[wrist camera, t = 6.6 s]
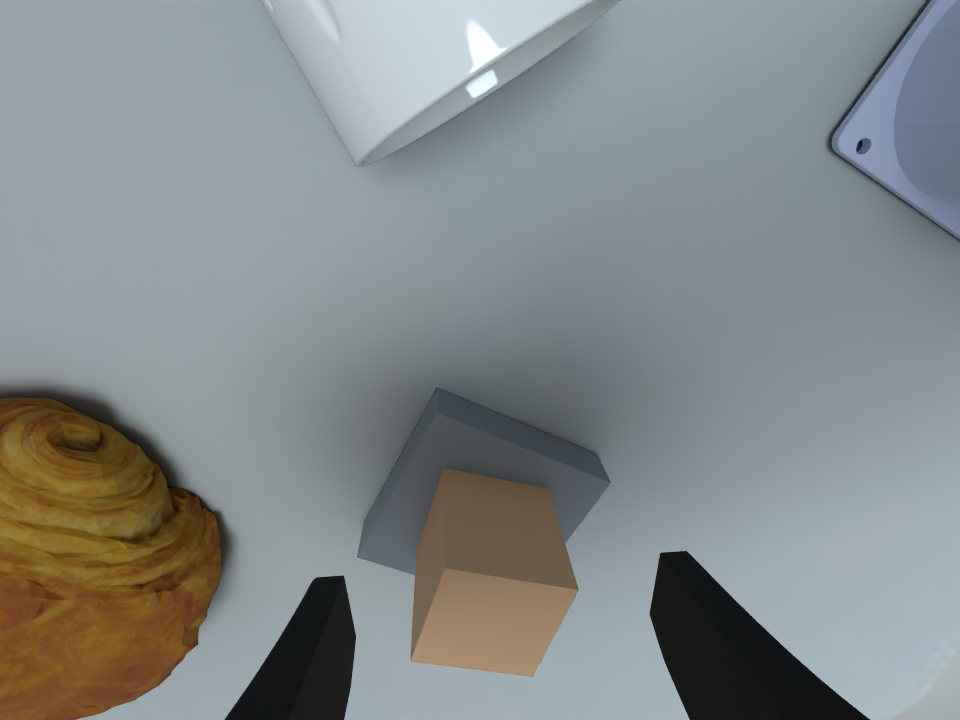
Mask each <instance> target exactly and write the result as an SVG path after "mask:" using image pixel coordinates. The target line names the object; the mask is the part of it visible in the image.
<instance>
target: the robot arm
mask: <svg viewBox="0 0 960 720" xmlns="http://www.w3.org/2000/svg"><path fill="white" fill-rule="evenodd" d="M860 140H862V147H861V149H860V150H859V151H858V152H856V146H857V144H858V142H859V141H860ZM832 148H833V150H834V151H835V152H836V153H837V154H839V155H840V156H842V157H843V158H844V159H846V160H847V161H849V162H850V163H852V164H853V165H854V166H856V167H857V168H859V169H860V170H861V171H863V172H864V173H866V174H867V175H869V176H870V177H871V178H873V179H874V180H876V181H877V182H879V183H880V184H881V185H883V186H884V187H886V188H887V189H889V190H890V191H891V192H893V193H894V194H896V195H897V196H898V197H900V198H901V199H903V200H904V201H906V202H907V203H908V204H910V205H911V206H913V207H914V208H916V209H917V210H918V211H920V212H921V213H923V214H924V215H926V216H927V217H928V218H930V219H931V220H933V221H934V222H935V223H937V224H938V225H940V226H941V227H943V228H944V229H945V230H947V231H948V232H950V233H951V234H953V235H954V236H955V237H957V238H958V239H960V0H931V1H930V2H929V4H928V5H927V6H926V8H925V9H924V11H923V12H922V13H921V15H920V16H919V17H918V19H917V20H916V22H915V23H914V24H913V26H912V27H911V28H910V30H909V31H908V33H907V34H906V35H905V37H904V38H903V39H902V41H901V42H900V44H899V45H898V46H897V48H896V49H895V51H894V52H893V53H892V55H891V56H890V57H889V59H888V60H887V62H886V63H885V64H884V66H883V67H882V68H881V70H880V71H879V73H878V74H877V75H876V77H875V78H874V79H873V81H872V82H871V84H870V85H869V86H868V88H867V89H866V90H865V92H864V93H863V95H862V96H861V97H860V99H859V100H858V101H857V103H856V104H855V106H854V107H853V108H852V110H851V111H850V112H849V114H848V115H847V117H846V118H845V119H844V121H843V122H842V123H841V125H840V126H839V128H838V129H837V130H836V132H835V134H834V136H833V138H832ZM650 617H651V620H652V623H653V627H654V630H655V633H656V637H657V640H658V643H659V646H660V649H661V652H662V655H663V658H664V661H665V664H666V666H667V668H668V671H669V673H670V675H671V678H672V680H673V682H674V685H675V687H676V689H677V692H678V694H679V696H680V698H681V701H682V703H683V705H684V708H685V710H686V712H687V714H688V717H689V719H690V720H870V719H868V718H867V717H866V716H865V715H863V714H862V713H861V712H860V711H858V710H857V709H856V708H854V707H853V706H852V705H851V704H849V703H848V702H847V701H846V700H844V699H843V698H842V697H841V696H839V695H838V694H837V693H836V692H835V691H833V690H832V689H831V688H830V687H829V686H828V685H826V684H825V683H824V682H823V681H822V680H820V679H819V678H818V677H817V676H816V675H815V674H814V673H812V672H811V671H810V670H809V669H808V668H807V667H806V666H805V665H803V664H802V663H801V662H800V661H799V660H798V659H797V658H795V657H794V656H793V655H792V654H791V653H790V652H789V651H788V650H787V649H786V648H784V647H783V646H782V645H781V644H780V643H779V642H778V641H777V640H776V639H775V638H774V637H773V636H772V635H771V634H770V633H768V632H767V631H766V630H765V629H764V628H763V627H762V626H761V625H760V624H759V623H758V622H757V621H756V620H755V619H754V618H753V617H752V616H751V615H750V614H749V613H748V612H747V611H746V610H745V609H744V608H743V607H741V606H740V605H739V604H738V603H737V602H736V601H735V600H734V599H733V598H732V597H731V596H730V595H729V594H728V592H727V591H726V590H725V589H724V588H723V587H722V586H721V585H720V584H719V583H718V582H717V581H716V580H715V579H714V578H713V577H712V576H711V575H710V574H709V573H708V572H707V571H706V570H705V569H704V568H703V567H702V566H701V565H700V564H699V563H698V562H697V561H696V560H695V559H694V558H693V557H692V556H691V555H690V554H689V553H688V552H687V551H679V552H665V553H660V558H659V564H658V569H657V575H656V581H655V586H654V592H653V598H652V603H651V609H650ZM355 642H356V634H355V629H354V624H353V619H352V614H351V609H350V604H349V599H348V594H347V589H346V584H345V579H344V576H331V577H317V578H315V579H314V580H313V581H312V583H311V584H310V586H309V588H308V590H307V592H306V594H305V595H304V597H303V599H302V601H301V602H300V604H299V606H298V608H297V609H296V611H295V613H294V615H293V616H292V618H291V620H290V621H289V623H288V625H287V626H286V628H285V630H284V631H283V633H282V635H281V636H280V638H279V640H278V641H277V643H276V644H275V646H274V647H273V649H272V650H271V652H270V654H269V655H268V657H267V658H266V660H265V661H264V663H263V664H262V666H261V668H260V669H259V671H258V672H257V674H256V675H255V677H254V678H253V680H252V681H251V683H250V684H249V686H248V687H247V688H246V690H245V691H244V693H243V694H242V696H241V697H240V698H239V700H238V701H237V703H236V704H235V706H234V707H233V708H232V710H231V711H230V713H229V714H228V715H227V717H226V718H225V720H344V717H345V712H346V707H347V703H348V698H349V693H350V688H351V679H352V670H353V661H354V652H355Z"/></svg>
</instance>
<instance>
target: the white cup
mask: <svg viewBox="0 0 960 720" xmlns="http://www.w3.org/2000/svg"><path fill="white" fill-rule="evenodd" d="M259 1H260V3H261V5H262V6H263V8H264V10H265V12H266V13H267V15H268V17H269V18H270V20H271V22H272V24H273V25H274V27H275V29H276V30H277V32H278V34H279V35H280V37H281V39H282V41H283V42H284V44H285V46H286V47H287V49H288V51H289V53H290V54H291V56H292V58H293V59H294V61H295V63H296V65H297V66H298V68H299V70H300V71H301V73H302V75H303V77H304V78H305V80H306V82H307V83H308V85H309V87H310V89H311V90H312V92H313V94H314V95H315V97H316V99H317V101H318V102H319V104H320V106H321V108H322V109H323V111H324V113H325V114H326V116H327V118H328V120H329V121H330V123H331V125H332V127H333V128H334V130H335V132H336V134H337V135H338V137H339V139H340V141H341V142H342V144H343V146H344V148H345V149H346V151H347V153H348V155H349V156H350V158H351V160H352V162H353V163H354V165H355V166H356V167H363V166H367V165H369V164H372V163H374V162H376V161H378V160H380V159H382V158H384V157H386V156H388V155H390V154H392V153H394V152H396V151H397V150H399V149H401V148H403V147H405V146H406V145H408V144H410V143H412V142H413V141H415V140H417V139H418V138H420V137H422V136H424V135H425V134H427V133H429V132H430V131H432V130H434V129H435V128H437V127H438V126H440V125H442V124H443V123H445V122H447V121H448V120H450V119H451V118H453V117H455V116H456V115H458V114H459V113H461V112H463V111H464V110H466V109H467V108H469V107H471V106H472V105H474V104H475V103H477V102H478V101H480V100H481V99H483V98H485V97H486V96H488V95H489V94H491V93H492V92H494V91H495V90H497V89H498V88H500V87H501V86H503V85H504V84H506V83H507V82H509V81H510V80H512V79H513V78H515V77H516V76H518V75H519V74H521V73H522V72H524V71H525V70H527V69H528V68H530V67H531V66H533V65H534V64H536V63H537V62H538V61H540V60H541V59H543V58H544V57H546V56H547V55H549V54H550V53H551V52H553V51H554V50H556V49H557V48H559V47H560V46H561V45H563V44H564V43H566V42H567V41H568V40H570V39H571V38H573V37H574V36H575V35H577V34H578V33H579V32H581V31H582V30H583V29H585V28H586V27H588V26H589V25H590V24H592V23H593V22H594V21H596V20H597V19H598V18H599V17H601V16H602V15H603V14H605V13H606V12H607V11H608V10H610V9H611V8H612V7H613V6H615V5H616V4H617V3H618V2H620V1H621V0H259Z"/></svg>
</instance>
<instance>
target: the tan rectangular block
mask: <svg viewBox="0 0 960 720" xmlns="http://www.w3.org/2000/svg"><path fill="white" fill-rule="evenodd" d="M578 590H579V589H578V586H577V583H576V579H575V576H574V573H573V569H572V566H571V562H570V559H569V556H568V552H567V549H566V546H565V542H564V539H563V535H562V532H561V529H560V525H559V522H558V518H557V515H556V512H555V508H554V505H553V502H552V498H551V495H550V491H549V489H547V488H542V487H537V486H532V485H527V484H522V483H517V482H512V481H507V480H502V479H497V478H492V477H487V476H482V475H477V474H472V473H467V472H462V471H457V470H452V469H447V468H444V469H443V472H442V475H441V478H440V481H439V484H438V487H437V490H436V493H435V496H434V499H433V502H432V505H431V508H430V511H429V514H428V517H427V520H426V523H425V526H424V529H423V532H422V535H421V538H420V541H419V544H418V547H417V550H416V568H415V587H414V605H413V623H412V642H411V660H410V661H411V662H419V663H427V664H435V665H443V666H451V667H459V668H467V669H475V670H483V671H491V672H499V673H507V674H515V675H523V676H531V677H533V675H534V673H535V671H536V670H537V668H538V666H539V664H540V662H541V660H542V658H543V656H544V654H545V653H546V651H547V649H548V647H549V645H550V643H551V641H552V639H553V637H554V636H555V634H556V632H557V630H558V628H559V626H560V624H561V622H562V621H563V619H564V617H565V615H566V613H567V611H568V609H569V607H570V605H571V604H572V602H573V600H574V598H575V596H576V594H577V592H578Z"/></svg>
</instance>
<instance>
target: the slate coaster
mask: <svg viewBox="0 0 960 720" xmlns="http://www.w3.org/2000/svg"><path fill="white" fill-rule="evenodd" d="M444 468H447V469H452V470H457V471H462V472H467V473H472V474H477V475H482V476H487V477H492V478H497V479H502V480H507V481H512V482H517V483H522V484H527V485H532V486H537V487H542V488H547V489H549V491H550V495H551V498H552V502H553V505H554V508H555V512H556V515H557V518H558V522H559V525H560V529H561V532H562V535H563V539H564V542H565V543H566V541H567V540H568V539H569V537H570V536H571V535H572V533H573V532H574V531H575V529H576V528H577V527H578V525H579V524H580V523H581V522H582V520H583V519H584V518H585V516H586V515H587V514H588V512H589V511H590V510H591V508H592V507H593V506H594V504H595V503H596V502H597V500H598V499H599V498H600V496H601V495H602V494H603V492H604V491H605V490H606V488H607V487H608V486H609V484H610V483H611V482H610V480H609V478H608V476H607V474H606V472H605V469H604V467H603V465H602V463H601V461H600V459H599V457H598V455H597V454H596V453H593V452H591V451H589V450H586V449H584V448H581V447H579V446H576V445H574V444H572V443H569V442H567V441H564V440H562V439H560V438H557V437H555V436H552V435H550V434H548V433H545V432H543V431H540V430H538V429H535V428H533V427H531V426H528V425H526V424H523V423H521V422H519V421H516V420H514V419H511V418H509V417H507V416H504V415H502V414H499V413H497V412H494V411H492V410H490V409H487V408H485V407H482V406H480V405H478V404H475V403H473V402H470V401H468V400H466V399H463V398H461V397H458V396H456V395H453V394H451V393H449V392H446V391H444V390H441V389H439V388H437V389H436V391H435V392H434V394H433V396H432V398H431V400H430V402H429V404H428V405H427V407H426V409H425V411H424V413H423V415H422V417H421V418H420V420H419V422H418V424H417V426H416V428H415V429H414V431H413V433H412V435H411V437H410V439H409V441H408V442H407V444H406V446H405V448H404V450H403V452H402V454H401V455H400V457H399V459H398V461H397V463H396V465H395V466H394V468H393V470H392V472H391V474H390V476H389V478H388V479H387V481H386V483H385V485H384V487H383V489H382V490H381V492H380V494H379V496H378V498H377V500H376V502H375V503H374V505H373V507H372V509H371V511H370V513H369V515H368V516H367V518H366V520H365V522H364V524H363V529H362V534H361V539H360V545H359V550H358V555H357V557H358V558H361V559H364V560H368V561H371V562H374V563H377V564H381V565H384V566H387V567H391V568H394V569H397V570H400V571H404V572H407V573H410V574H413V575H415V568H416V550H417V547H418V544H419V541H420V538H421V535H422V532H423V529H424V526H425V523H426V520H427V517H428V514H429V511H430V508H431V505H432V502H433V499H434V496H435V493H436V490H437V487H438V484H439V481H440V478H441V475H442V472H443V469H444Z"/></svg>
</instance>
